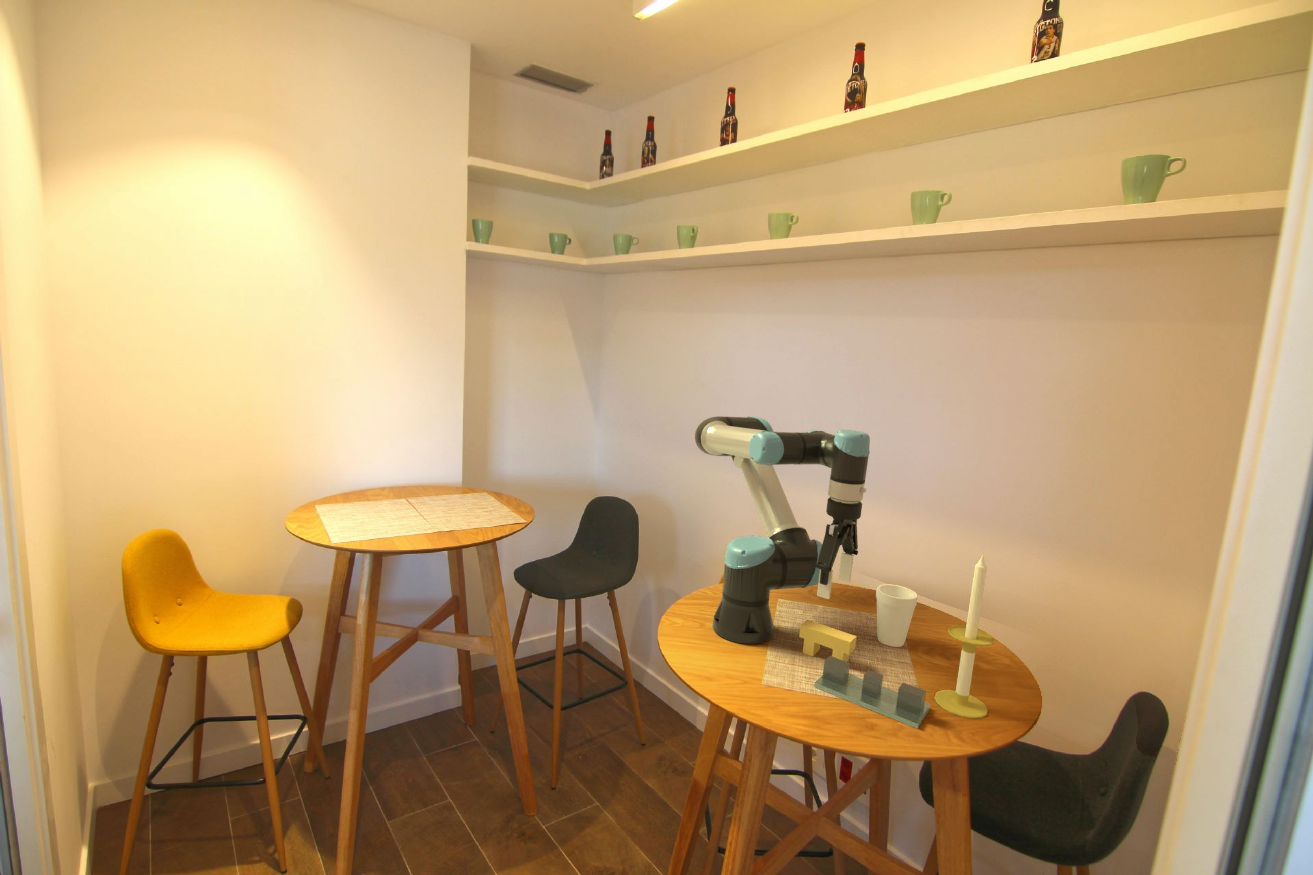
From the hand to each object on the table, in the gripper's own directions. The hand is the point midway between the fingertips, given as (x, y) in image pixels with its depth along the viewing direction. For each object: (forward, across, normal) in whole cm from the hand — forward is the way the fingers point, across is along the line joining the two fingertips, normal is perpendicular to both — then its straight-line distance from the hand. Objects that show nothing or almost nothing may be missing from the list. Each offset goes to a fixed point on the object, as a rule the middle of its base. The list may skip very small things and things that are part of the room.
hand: (834, 588), depth 142 cm
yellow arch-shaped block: (+17, -1, 0) cm, 17 cm away
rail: (+16, -11, -14) cm, 24 cm away
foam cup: (+17, +19, -10) cm, 27 cm away
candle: (+16, 0, -29) cm, 33 cm away
